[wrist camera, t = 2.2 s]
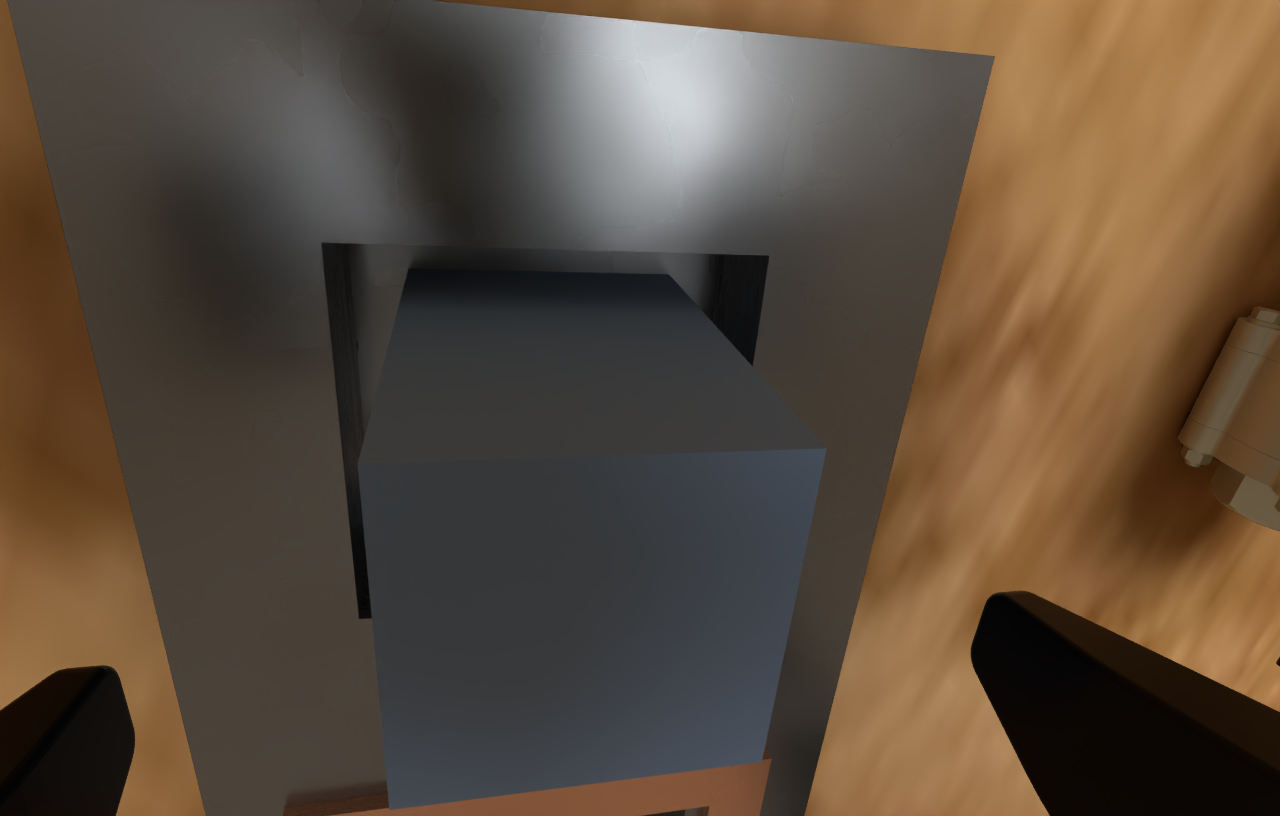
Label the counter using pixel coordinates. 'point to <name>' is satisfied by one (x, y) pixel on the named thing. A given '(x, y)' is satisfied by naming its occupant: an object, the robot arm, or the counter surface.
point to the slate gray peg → (575, 535)
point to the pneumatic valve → (1242, 421)
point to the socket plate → (463, 240)
